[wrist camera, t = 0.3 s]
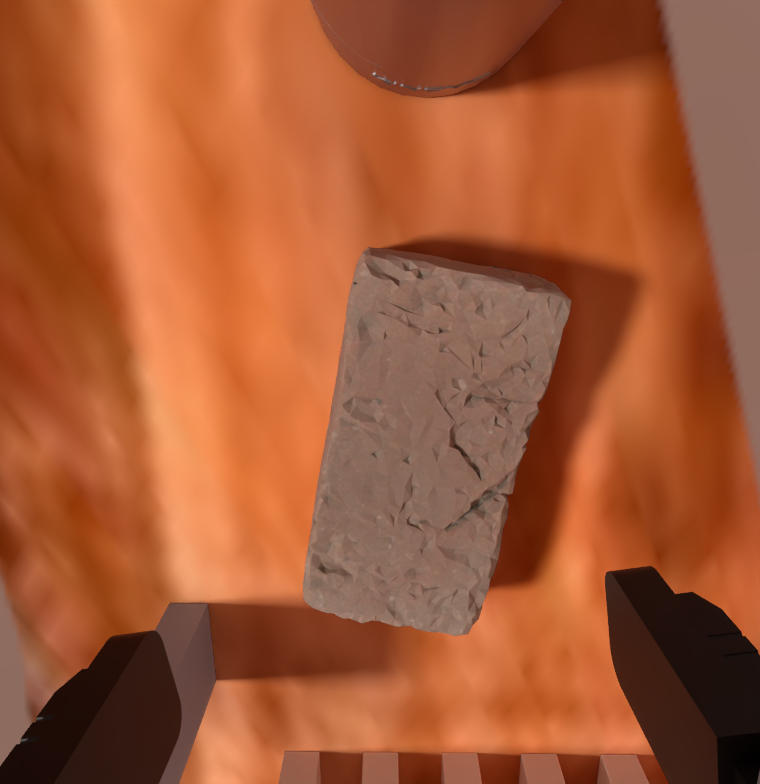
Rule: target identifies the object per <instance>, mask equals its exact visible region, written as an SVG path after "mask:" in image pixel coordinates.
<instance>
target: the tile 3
mask: <svg viewBox="0 0 760 784" xmlns="http://www.w3.org/2000/svg"><path fill="white" fill-rule="evenodd" d="M362 784H399V770H398V752H363V767H362Z"/></svg>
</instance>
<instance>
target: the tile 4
mask: <svg viewBox="0 0 760 784" xmlns="http://www.w3.org/2000/svg"><path fill="white" fill-rule="evenodd" d="M441 784H482V780H481V774H480V768H479V761H478V755H477V753H442V769H441Z"/></svg>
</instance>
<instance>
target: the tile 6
mask: <svg viewBox="0 0 760 784" xmlns="http://www.w3.org/2000/svg"><path fill="white" fill-rule="evenodd" d="M597 784H649V782H648V780H647V778H646V776H645V773H644V771H643V769H642V767H641V764H640V762H639V760H638V758H637V755H619V754H601V756H600V764H599V771H598V778H597Z"/></svg>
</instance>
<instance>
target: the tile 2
mask: <svg viewBox="0 0 760 784" xmlns="http://www.w3.org/2000/svg"><path fill="white" fill-rule="evenodd" d="M279 784H321V773H320V752H302V751H285V752H284V758H283V763H282V768H281V773H280V779H279Z"/></svg>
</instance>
